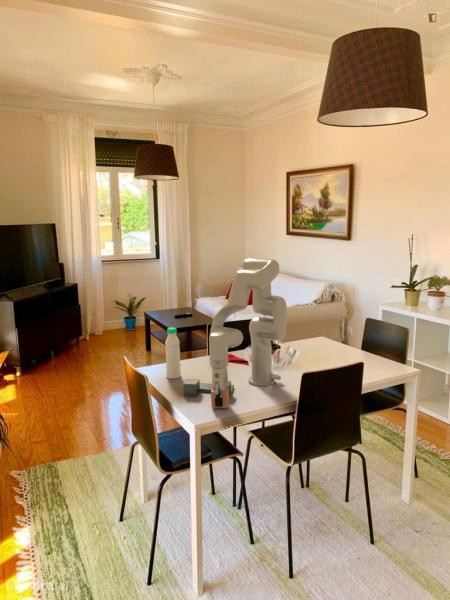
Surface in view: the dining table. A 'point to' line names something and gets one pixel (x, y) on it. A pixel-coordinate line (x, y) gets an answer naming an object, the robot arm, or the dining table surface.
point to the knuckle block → (225, 398)
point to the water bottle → (172, 354)
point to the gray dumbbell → (200, 387)
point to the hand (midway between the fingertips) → (220, 402)
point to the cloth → (236, 359)
